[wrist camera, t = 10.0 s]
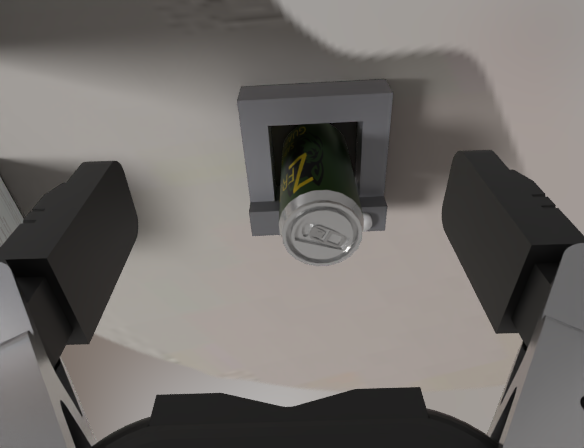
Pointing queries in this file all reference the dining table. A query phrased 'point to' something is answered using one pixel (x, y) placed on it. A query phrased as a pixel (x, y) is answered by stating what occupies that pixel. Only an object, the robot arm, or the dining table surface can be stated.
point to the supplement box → (8, 214)
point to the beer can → (319, 196)
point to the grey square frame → (311, 110)
